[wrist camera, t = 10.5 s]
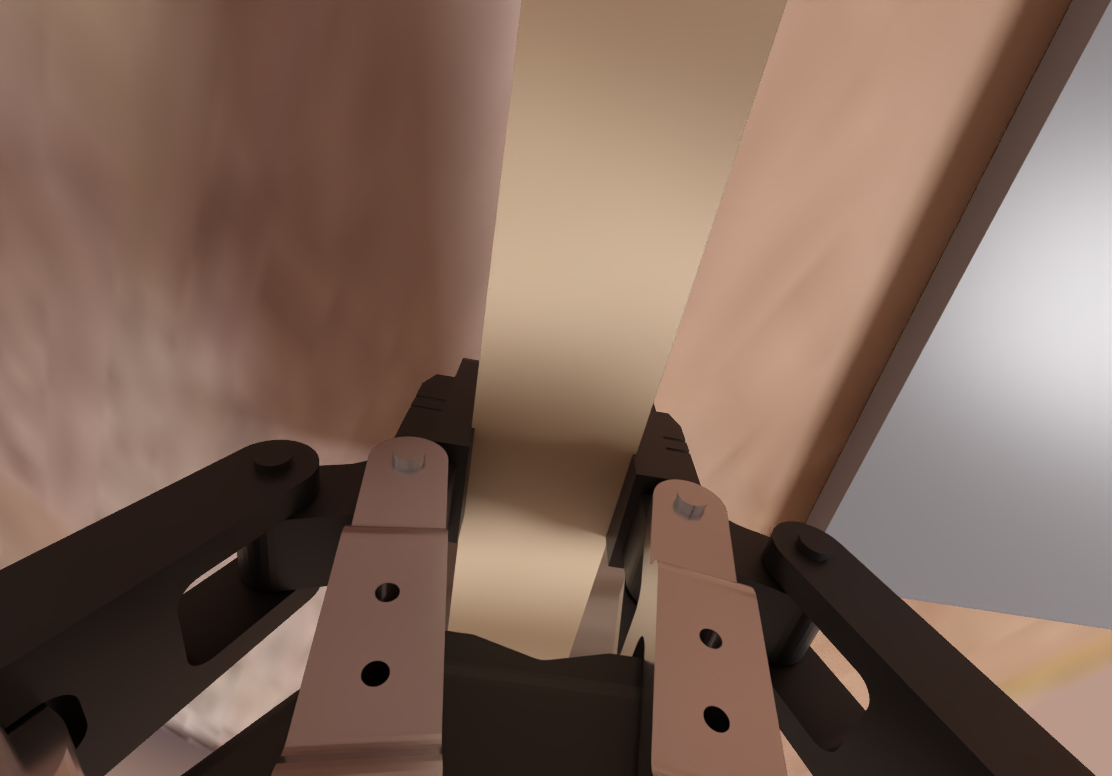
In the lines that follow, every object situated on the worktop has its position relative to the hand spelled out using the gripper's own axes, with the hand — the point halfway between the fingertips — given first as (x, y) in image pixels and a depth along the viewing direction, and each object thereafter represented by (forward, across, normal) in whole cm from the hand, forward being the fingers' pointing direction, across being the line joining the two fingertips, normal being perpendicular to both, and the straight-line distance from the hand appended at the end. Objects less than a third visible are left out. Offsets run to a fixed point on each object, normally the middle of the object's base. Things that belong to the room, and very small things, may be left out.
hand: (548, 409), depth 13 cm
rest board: (+5, -18, -2) cm, 19 cm away
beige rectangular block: (+2, 0, 0) cm, 2 cm away
